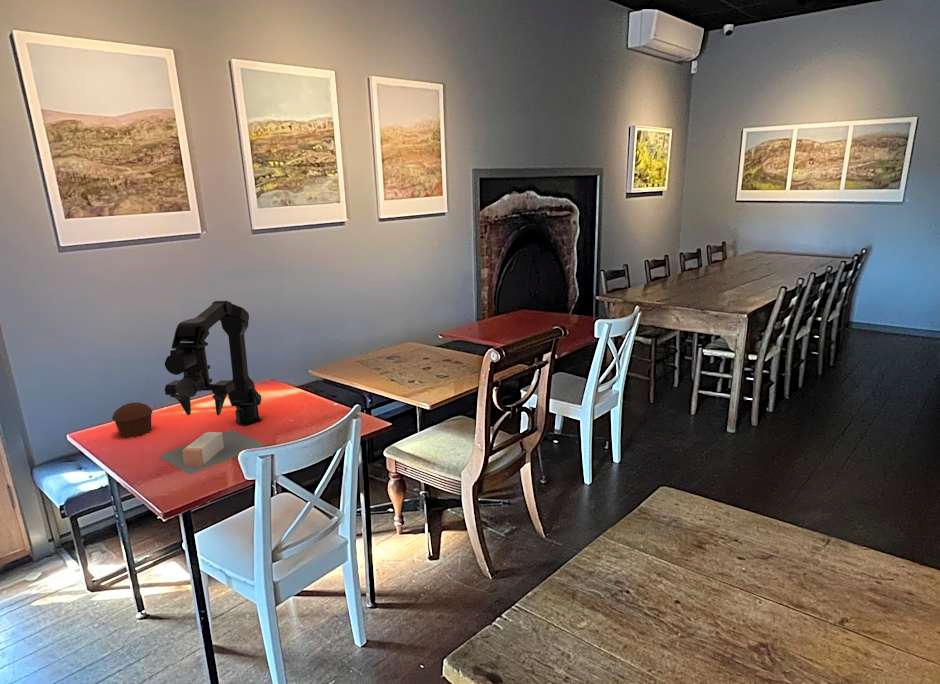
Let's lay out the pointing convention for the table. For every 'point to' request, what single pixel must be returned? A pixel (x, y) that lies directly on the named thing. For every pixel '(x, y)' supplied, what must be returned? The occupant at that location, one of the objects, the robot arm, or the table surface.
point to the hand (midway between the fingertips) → (203, 415)
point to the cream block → (203, 449)
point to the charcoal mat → (231, 449)
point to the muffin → (133, 419)
